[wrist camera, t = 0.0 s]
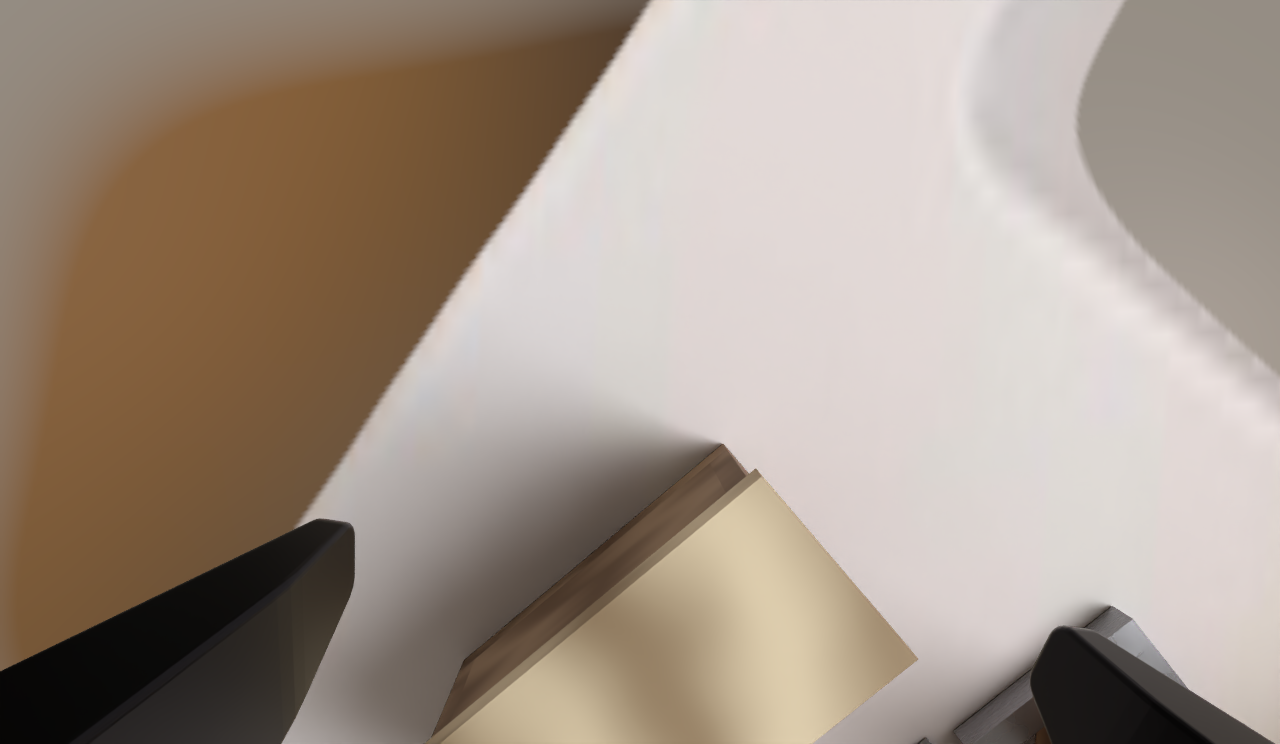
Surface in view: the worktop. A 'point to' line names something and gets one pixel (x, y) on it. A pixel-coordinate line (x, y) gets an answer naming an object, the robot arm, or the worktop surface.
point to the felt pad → (925, 741)
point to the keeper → (1014, 712)
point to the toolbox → (592, 579)
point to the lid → (703, 645)
